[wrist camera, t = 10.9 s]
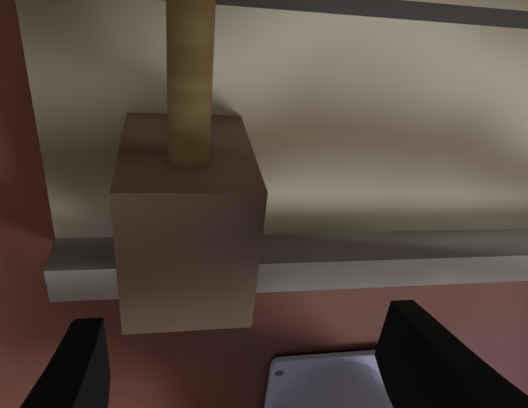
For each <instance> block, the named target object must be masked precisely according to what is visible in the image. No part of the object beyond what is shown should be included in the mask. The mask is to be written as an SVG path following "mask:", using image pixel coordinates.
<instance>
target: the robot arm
mask: <svg viewBox="0 0 528 408" xmlns="http://www.w3.org/2000/svg"><path fill="white" fill-rule="evenodd" d="M110 377H111V375H110V367H109V359H108V352H107V344H106V336H105V328H104V320H103V318H87V319H75V320H74V321H73V322H72V323H71V324H70V326H69V328H68V330H67V332H66V334H65V336H64V337H63V339H62V341H61V343H60V345H59V346H58V348H57V350H56V352H55V353H54V355H53V357H52V358H51V360H50V362H49V363H48V365H47V367H46V368H45V370H44V372H43V373H42V375H41V376H40V378H39V379H38V381H37V382H36V384H35V385H34V387H33V389H32V390H31V392H30V393H29V395H28V396H27V398H26V399H25V401H24V402H23V404H22V405H21V407H20V408H108V401H109V389H110ZM264 408H528V396H527V395H526V394H525V393H523V392H522V391H521V390H519V389H518V388H517V387H516V386H514V385H513V384H512V383H510V382H509V381H508V380H506V379H505V378H504V377H503V376H501V375H500V374H499V373H498V372H496V371H495V370H494V369H493V368H491V367H490V366H489V365H488V364H487V363H485V362H484V361H483V360H482V359H481V358H479V357H478V356H477V355H476V354H475V353H473V352H472V351H471V350H470V349H469V348H468V347H466V346H465V345H464V344H463V343H462V342H461V341H460V340H458V339H457V338H456V337H455V336H454V335H453V334H452V333H450V332H449V331H448V330H447V329H446V328H445V327H444V326H442V325H441V324H440V323H439V322H438V321H437V320H436V319H434V318H433V317H432V316H431V315H430V314H429V313H428V312H426V311H425V310H424V309H423V308H422V307H421V306H419V305H418V304H417V303H416V302H415V301H413V300H400V301H391V303H390V306H389V309H388V313H387V316H386V319H385V322H384V325H383V328H382V332H381V335H380V338H379V341H378V344H377V348H376V350H365V351H351V352H338V353H324V354H311V355H297V356H283V357H277V358H275V359H273V360H272V362H271V365H270V371H269V377H268V384H267V390H266V396H265V403H264Z"/></svg>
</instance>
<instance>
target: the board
mask: <svg viewBox="0 0 528 408" xmlns="http://www.w3.org/2000/svg"><path fill="white" fill-rule="evenodd" d="M15 3H16V9H17V15H18V21H19V27H20V32H21V38H22V44H23V50H24V56H25V62H26V68H27V74H28V80H29V86H30V92H31V98H32V104H33V110H34V116H35V121H36V127H37V133H38V139H39V145H40V151H41V157H42V163H43V169H44V175H45V181H46V187H47V193H48V199H49V205H50V210H51V216H52V222H53V228H54V234H55V240H54V243H53V246H52V249H51V252H50V255H49V257H48V260H47V263H46V266H45V269H44V276H45V281H46V286H47V291H48V296H49V302H66V301H89V300H111V299H119V295H118V283H117V272H116V261H115V249H114V238H113V226H112V215H111V204H110V189H111V184H112V179H113V175H114V170H115V165H116V161H117V156H118V151H119V146H120V142H121V137H122V132H123V128H124V123H125V118H126V113H127V112H132V113H164V114H167V53H166V0H15ZM211 115H228V116H241V117H242V120H243V123H244V126H245V129H246V132H247V134H248V137H249V140H250V143H251V146H252V149H253V152H254V154H255V157H256V160H257V163H258V166H259V169H260V172H261V175H262V177H263V180H264V183H265V186H266V189H267V192H268V196H267V204H266V213H265V221H264V229H263V238H262V246H261V255H260V263H259V271H258V280H257V288H256V293H266V292H288V291H310V290H332V289H354V288H376V287H398V286H420V285H443V284H465V283H487V282H509V281H528V0H216V9H215V33H214V57H213V82H212V106H211Z"/></svg>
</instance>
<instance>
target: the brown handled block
mask: <svg viewBox="0 0 528 408" xmlns="http://www.w3.org/2000/svg"><path fill="white" fill-rule="evenodd" d="M215 9H216V0H166V53H167V114H164V113H132V112H127V113H126V118H125V123H124V128H123V132H122V137H121V142H120V146H119V151H118V156H117V161H116V165H115V170H114V175H113V179H112V184H111V189H110V204H111V215H112V226H113V238H114V249H115V261H116V272H117V283H118V295H119V306H120V318H121V329H122V335H129V334H145V333H162V332H179V331H195V330H212V329H229V328H245V327H252V322H253V313H254V305H255V296H256V288H257V280H258V271H259V263H260V255H261V246H262V238H263V229H264V221H265V213H266V204H267V196H268V192H267V189H266V186H265V183H264V180H263V177H262V175H261V172H260V169H259V166H258V163H257V160H256V157H255V154H254V152H253V149H252V146H251V143H250V140H249V137H248V134H247V132H246V129H245V126H244V123H243V120H242V117H241V116H228V115H211V106H212V82H213V57H214V33H215Z"/></svg>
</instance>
